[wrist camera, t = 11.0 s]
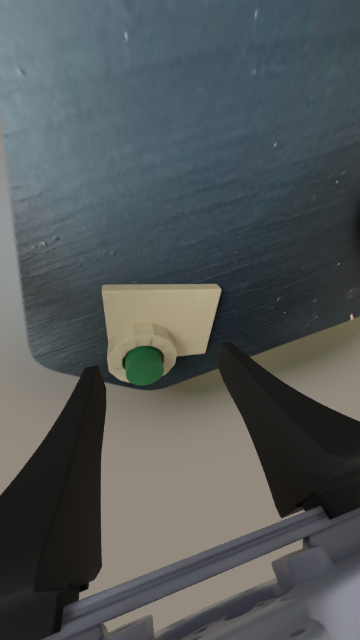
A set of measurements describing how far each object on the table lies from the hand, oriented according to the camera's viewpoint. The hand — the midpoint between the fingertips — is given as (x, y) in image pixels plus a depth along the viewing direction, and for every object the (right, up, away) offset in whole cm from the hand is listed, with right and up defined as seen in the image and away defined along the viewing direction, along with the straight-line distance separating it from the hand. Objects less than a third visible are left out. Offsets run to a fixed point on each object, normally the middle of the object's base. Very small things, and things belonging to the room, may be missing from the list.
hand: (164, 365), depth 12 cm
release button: (-2, -1, +6) cm, 7 cm away
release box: (-1, +3, +8) cm, 8 cm away
